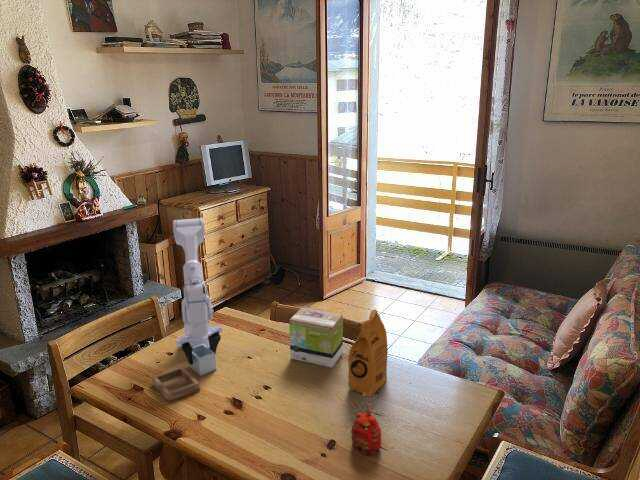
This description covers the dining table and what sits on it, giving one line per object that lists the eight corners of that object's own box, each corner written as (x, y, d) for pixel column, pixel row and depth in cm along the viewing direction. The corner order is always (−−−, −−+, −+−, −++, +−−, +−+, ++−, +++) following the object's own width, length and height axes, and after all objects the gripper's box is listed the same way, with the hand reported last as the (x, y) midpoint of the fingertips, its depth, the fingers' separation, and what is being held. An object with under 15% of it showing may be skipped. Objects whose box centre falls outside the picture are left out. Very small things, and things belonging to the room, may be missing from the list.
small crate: (189, 365, 167) (187, 349, 165) (205, 359, 170) (203, 343, 168) (200, 376, 161) (198, 359, 159) (216, 370, 164) (214, 353, 162)
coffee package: (342, 389, 153) (342, 321, 146) (362, 369, 163) (363, 305, 156) (372, 399, 148) (373, 329, 141) (391, 378, 158) (393, 312, 151)
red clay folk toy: (346, 449, 128) (346, 397, 124) (359, 433, 134) (359, 382, 129) (374, 461, 124) (375, 407, 120) (386, 443, 130) (387, 391, 125)
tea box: (289, 360, 169) (287, 318, 165) (302, 345, 178) (300, 306, 173) (333, 368, 164) (332, 326, 159) (343, 353, 172) (343, 312, 168)
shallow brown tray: (153, 384, 157) (152, 377, 156) (182, 373, 163) (182, 366, 162) (169, 402, 148) (168, 395, 147) (200, 390, 154) (199, 383, 153)
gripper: (181, 332, 153) (185, 372, 157) (225, 317, 162) (228, 356, 166) (171, 323, 159) (176, 363, 163) (214, 310, 167) (218, 348, 171)
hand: (201, 359), depth 165 cm, fingers open, 7 cm apart
